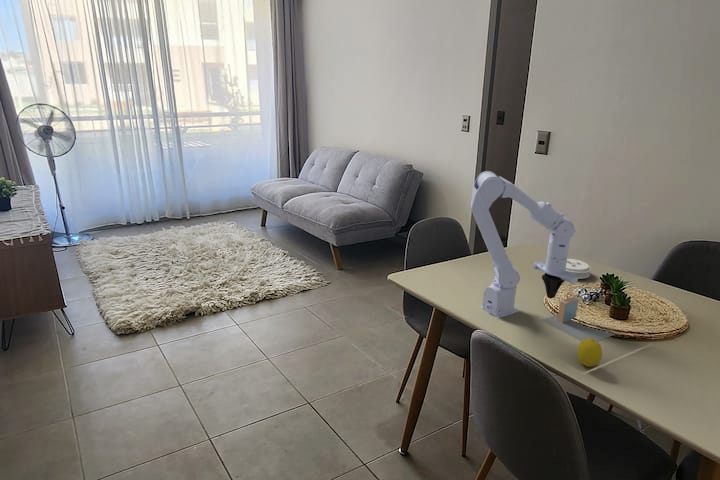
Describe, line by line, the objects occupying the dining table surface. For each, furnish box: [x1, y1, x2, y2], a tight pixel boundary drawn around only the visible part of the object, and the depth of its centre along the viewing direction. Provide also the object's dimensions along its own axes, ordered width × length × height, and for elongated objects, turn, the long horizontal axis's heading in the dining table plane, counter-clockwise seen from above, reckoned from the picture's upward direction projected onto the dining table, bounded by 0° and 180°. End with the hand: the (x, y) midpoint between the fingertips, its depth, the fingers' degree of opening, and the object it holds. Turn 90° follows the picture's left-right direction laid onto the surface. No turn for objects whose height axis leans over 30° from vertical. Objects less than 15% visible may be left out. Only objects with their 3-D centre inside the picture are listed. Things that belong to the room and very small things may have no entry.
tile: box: [557, 296, 580, 323], centre depth 138 cm, size 6×2×6 cm, turn 119°
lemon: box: [576, 338, 603, 367], centre depth 115 cm, size 6×6×8 cm
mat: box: [541, 314, 616, 343], centre depth 135 cm, size 12×16×1 cm
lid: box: [566, 258, 591, 280], centre depth 173 cm, size 13×13×5 cm
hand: (550, 297), depth 143 cm, fingers closed
